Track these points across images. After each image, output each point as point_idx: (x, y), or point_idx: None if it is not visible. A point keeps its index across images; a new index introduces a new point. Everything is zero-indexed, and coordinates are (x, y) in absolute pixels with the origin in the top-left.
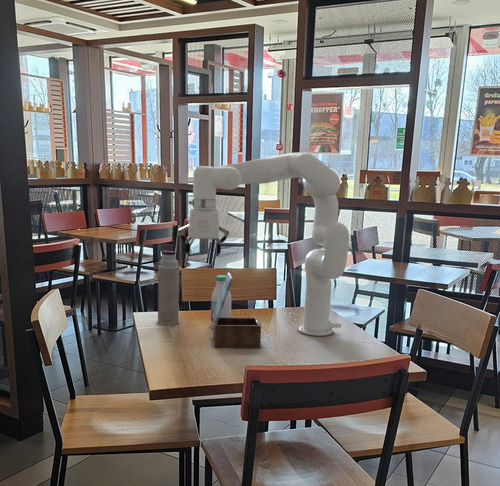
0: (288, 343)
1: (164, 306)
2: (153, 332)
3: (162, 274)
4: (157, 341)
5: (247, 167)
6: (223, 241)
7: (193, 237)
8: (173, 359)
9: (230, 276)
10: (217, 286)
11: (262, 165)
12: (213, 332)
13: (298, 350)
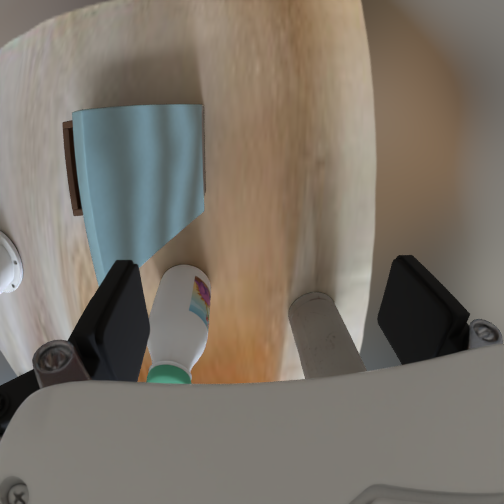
0: (33, 166)
1: (336, 321)
2: (353, 238)
3: None
4: (350, 163)
5: None
6: (19, 377)
7: (496, 346)
8: (313, 24)
9: (84, 175)
10: (185, 355)
11: None
12: (203, 174)
13: (19, 118)
